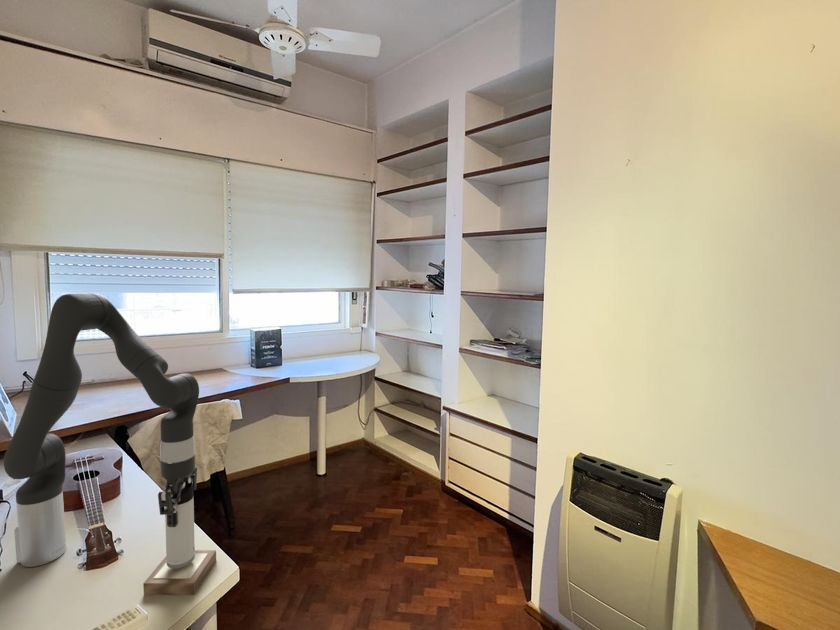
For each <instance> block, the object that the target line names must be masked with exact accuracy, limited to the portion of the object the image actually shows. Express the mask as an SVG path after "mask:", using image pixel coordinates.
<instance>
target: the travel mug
mask: <svg viewBox="0 0 840 630" xmlns="http://www.w3.org/2000/svg"><path fill="white" fill-rule="evenodd" d="M177 496H178V495H176V496H172V499H176V498H177ZM194 502H195V501H194V490H193V482H192V481H191V483H190V486H189V487H188V486H187V487H186V488H185V489H184V490H183V494H181V501H180V502H179V503H178V508H177V514H178V524H177V526H176V527H168V526H167V515H164V516H165V517H164V522H165V548H166V549H165V550H166V552H165V553H166V555H165V557H166V558H167V566H168V567H169V568H172V569H177V568H182V567H184V566H187V565H188V564H190V563H191V562H192V561H193V560H194V558H195V550H196V549H195V547H196V546H195V544H196V543H195V510H194V509H195V505H194V504H195V503H194ZM172 505H173V507H174V502H172Z"/></svg>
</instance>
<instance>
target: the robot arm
mask: <svg viewBox="0 0 840 630" xmlns="http://www.w3.org/2000/svg"><path fill="white" fill-rule="evenodd" d="M48 321H49V322H48V327H47V333H46V337H45V342H44V347H43V350H42V353H41V357H40V361H39V365H38V367H37V369H36V373H35V376H34V379H33V381H32V384H31V387H30V391H29V394H28V398H27V401H26V403H25V404H26V405H25V407H24V410H23V412H22V414H21V418H20V421H19V423H18V425H17V427H16V430H15V432H14V434H13V436H12V438H11V440H10V442H9V444H8V446H7V448H6V451H5V453H4V458H3V467H4V471H5V473H6V474H7V476H8V477H10V478H11V479H14V480H25V479H26V481H24V483H23V484H22V485H20V487H19V488H18V489H17V491H16V492H15V502H16V503H15V504H16V515H17V516H16V517H17V527H15V529H14V533H13V534H14V544H15V555H16V557H15V558H16V559H15V560H16V564H20V565H21V566H22V567H26V568H34V567H38V566H39V567H40V566H43V565H46V564H48V563H51V562H53V561H55V560H57V559H58V558H59V557H62V555H63V554H64V553H65V552H66V550H67V541H66V540H67V539H66V521H65V509H64V508H65V507H64V505H65V504H64V494H63V493H64V492H63V491H64V490H63V489H64V488H63V485H64V482H65V481H66V460H67V458H66V448H65V444H64V442H63V441H62V439H61V438H60V437H59V436H58V435H56V434H54V433H49V432H50V431H51V429H52V428H53V427H54V426H55V424H56V423H57V422H58V421H59V420H60V419H61V418H62V416H64V415H65V413H66V412H67V411H68V409H69V408H70V407H71V406H72V404H74V402H75V400H76V397H77V394H78V391H79V390H80V387H81V386H80V385H81V384H82V383H81V382H82V381H83V380H82V378H83V374H82V369H81V367H80V364H79V362H78V360H77V358H76V356H75V352H74V351H75V350H74V349H75V345H76V342H77V338H78V336H79V334H80V333H81V331H90V330H98V331H101V333H103V334H105V335H106V336H108V338H110V339H111V341H112V342H113V345H114V349H115V354H116V356H117V359H118V361H119V362H120V364H121V365H122V366H123V367H124V368H125V369H126V370H127V371H128V372H129V373H131V374H132V375H133V376H134V377H136V379H138V380H139V381H140V383H141V385H142V387H143V388H144V390H145V391H146V394H147V395H148V397H149V399H150V401H152V403H154V404H155V405H156V406H158V407H160V408H163V409H170V410H169V411H168V413H166V414H165V415H164V416H163V417H162V418H161V420H160V446H159V453H160V454H159V455H160V456H159V457H160V458H159V459H160V460H159V461H160V476H161V477H162V478H163V479H165V480H166V485H165V489H164V490H163V491H159V492H158V493H157V499H158V507H159V515H161V516H163V515H164V516H165V515H167V526H168V527H176V526H177V524H178V514H177V508H178V503H179V502H180V501H181V494H183V490H184V489H185V488H186V487H187V486H188V487H189V486H190V483H191V481H192V484H193V491H195V490H197V485H198V484H197V483H198V481H197V480H198V479H197V477H198V467H196V442H195V436H194V416H195V414H196V411H197V410H196V409H197V405H198V401H199V397H200V386H199V383H198V380H197V379H196V378H195V376H194V375H192V374H190V373H187V372H186V373H185V372H184V373H180V374H179V373H178V374H177V375H174V376H170V377H167V376H166V373H167V371H168V369H169V364H168V362H167V361H166V360H165V359H164V358H163V356H161V355H160V354H159V353H158V352H156V350H154V349H153V348H152V347H151V346H149V345H148V344H147V343H146V342H145V341H144V340H143V339H142V338H141V337H140V336H139V334H138V333H137V332H136V331H135V330H134V329H133V328H132V326H131V325H130V324H129V323H128V321H127V320H126V318H124V316H123V315H122V314H121V313H120V311H119V310H118V309H117V308H116V306H115V305H114V304H113V302H111V301H110V300H109V298H107V297H106V296H104V295H102V294H101V293H100V294H99V293H89V292H88V293H66V294H62V295H60V296H59V297H58V298H57V299H56V300H55V302H54V304H53V305H52V308H51V312H50V314H49V320H48ZM176 495H178V496H177V498H176V499H172V496H176ZM172 502H174V507H173V505H172Z"/></svg>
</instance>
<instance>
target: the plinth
mask: <svg viewBox="0 0 840 630" xmlns="http://www.w3.org/2000/svg"><path fill="white" fill-rule="evenodd" d="M216 563H217V550H215V549H213V550H212V549H211V550H210V549H209V550H208V549H207V550H205V549H204V550H203V549H202V550H199V549H198V550H196V549H195V558H194V560H193V561H192V562H191V563H190V564H188V565H187V566H184V567H182V568H177V569H172V568H169V567H168V566H167V558H166V556H165V557H164V558H163V559H162V560H161V562H160V563H159V564H158V566H156V568H155V569H154V570H153V571H152V572H151V573H150V575H149V576H148V577H147V579H145V581H144V582H143V583H142V584H143V595H144V596H148V595H149V596H164V595H166V596H169V595H170V596H171V595H174V596H177V595H178V596H181V595H184V596H185V595H188V596H189V595H190V596H191V595H193V596H194V595H195V594H196V593H197V591H198V590H199V588H200V587H201V585H202V584H203V581H204V580H205V579H206V577H207V576H208V575H209V573H210V571H211V569H212V568H213V567H214V565H215V564H216Z"/></svg>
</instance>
